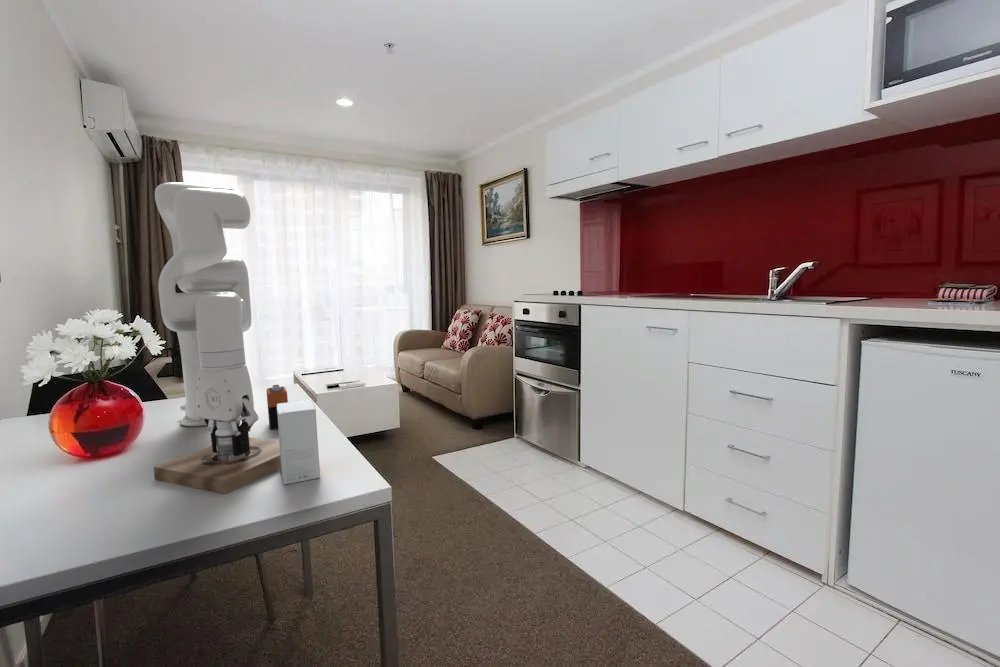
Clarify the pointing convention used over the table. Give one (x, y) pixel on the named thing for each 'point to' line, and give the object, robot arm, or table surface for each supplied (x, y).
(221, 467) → the socket block
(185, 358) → the robot arm
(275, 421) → the battery
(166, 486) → the table surface
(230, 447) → the pill bottle
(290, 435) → the small box
